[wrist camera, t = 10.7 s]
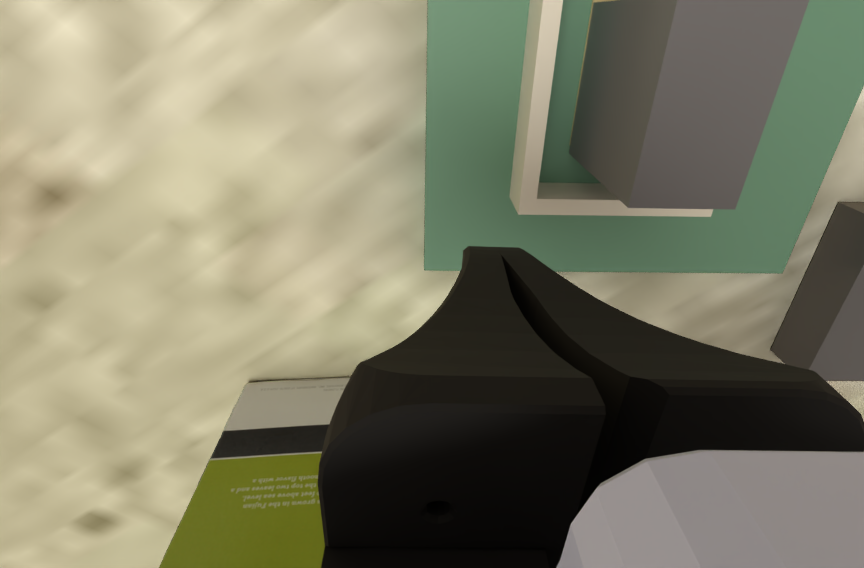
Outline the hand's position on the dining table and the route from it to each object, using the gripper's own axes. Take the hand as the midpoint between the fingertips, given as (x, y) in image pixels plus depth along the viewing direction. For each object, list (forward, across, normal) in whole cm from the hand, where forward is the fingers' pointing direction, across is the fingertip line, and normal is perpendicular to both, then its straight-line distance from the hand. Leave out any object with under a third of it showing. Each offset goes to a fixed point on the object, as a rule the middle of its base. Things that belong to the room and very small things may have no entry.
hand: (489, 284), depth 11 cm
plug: (+8, -6, -4) cm, 11 cm away
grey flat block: (+9, -21, +4) cm, 23 cm away
